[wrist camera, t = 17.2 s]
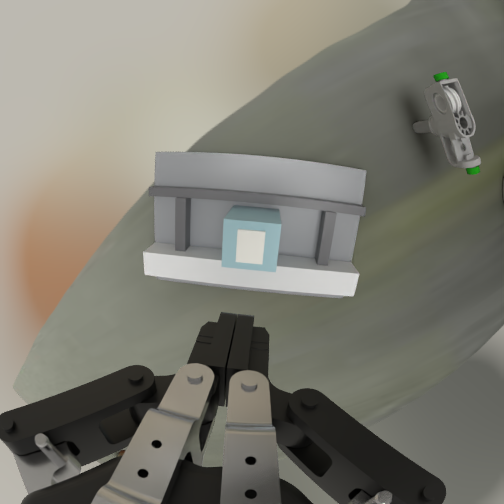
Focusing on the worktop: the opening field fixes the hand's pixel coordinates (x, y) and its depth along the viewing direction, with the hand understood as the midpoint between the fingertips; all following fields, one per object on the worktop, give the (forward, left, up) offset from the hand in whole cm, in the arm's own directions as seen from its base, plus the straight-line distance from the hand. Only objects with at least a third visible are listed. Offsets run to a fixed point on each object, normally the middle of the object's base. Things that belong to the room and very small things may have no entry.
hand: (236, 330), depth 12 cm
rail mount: (0, 0, -21) cm, 21 cm away
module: (0, 0, -20) cm, 20 cm away
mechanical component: (-19, -15, -21) cm, 32 cm away
